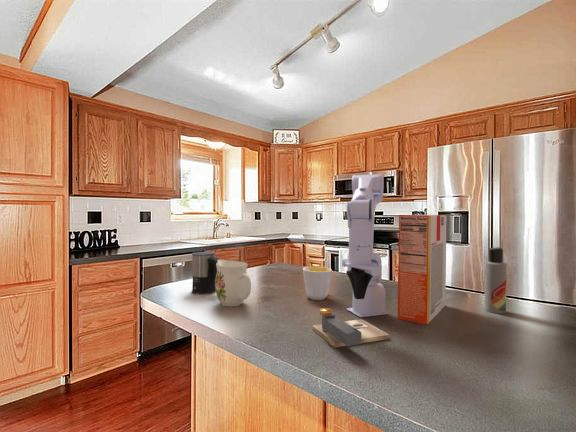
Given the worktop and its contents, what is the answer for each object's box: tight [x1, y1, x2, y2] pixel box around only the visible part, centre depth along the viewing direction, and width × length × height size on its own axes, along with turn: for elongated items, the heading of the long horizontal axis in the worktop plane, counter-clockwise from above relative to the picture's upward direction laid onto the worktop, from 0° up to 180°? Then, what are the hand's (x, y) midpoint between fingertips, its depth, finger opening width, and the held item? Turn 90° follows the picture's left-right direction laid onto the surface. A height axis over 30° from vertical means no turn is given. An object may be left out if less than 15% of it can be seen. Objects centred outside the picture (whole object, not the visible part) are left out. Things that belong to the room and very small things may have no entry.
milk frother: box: [191, 251, 221, 295], centre depth 126 cm, size 14×16×15 cm
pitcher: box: [215, 259, 252, 307], centre depth 107 cm, size 11×18×14 cm, turn 43°
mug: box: [302, 266, 333, 301], centre depth 117 cm, size 14×10×10 cm
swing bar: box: [319, 307, 362, 347], centre depth 76 cm, size 14×4×4 cm, turn 21°
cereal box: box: [397, 214, 448, 325], centre depth 101 cm, size 23×8×30 cm, turn 143°
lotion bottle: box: [483, 247, 508, 314], centre depth 102 cm, size 6×6×20 cm
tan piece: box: [312, 315, 390, 348], centre depth 82 cm, size 15×12×5 cm
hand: (359, 298), depth 84 cm, fingers closed
